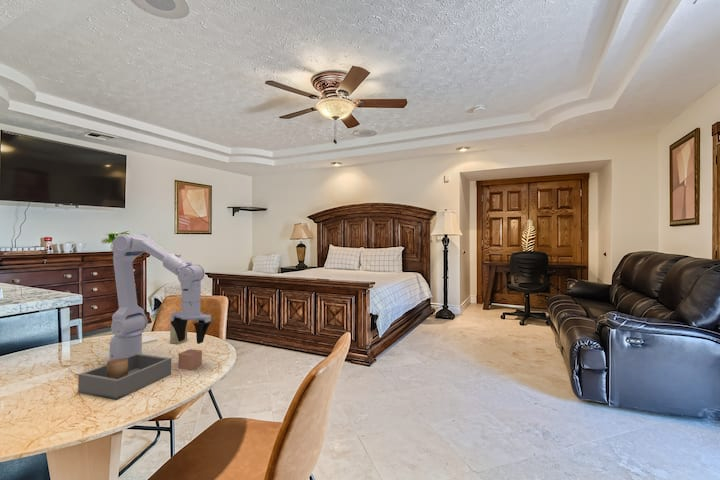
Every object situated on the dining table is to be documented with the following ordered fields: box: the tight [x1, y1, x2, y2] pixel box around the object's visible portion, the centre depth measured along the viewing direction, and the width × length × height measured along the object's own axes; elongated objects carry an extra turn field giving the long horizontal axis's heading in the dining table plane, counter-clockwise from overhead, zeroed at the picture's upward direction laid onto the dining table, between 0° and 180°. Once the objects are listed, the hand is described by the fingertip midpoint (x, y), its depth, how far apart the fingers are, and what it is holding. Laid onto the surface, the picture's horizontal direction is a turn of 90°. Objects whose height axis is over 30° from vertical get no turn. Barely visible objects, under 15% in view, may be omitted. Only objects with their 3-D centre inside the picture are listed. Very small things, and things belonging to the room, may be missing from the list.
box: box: [169, 318, 189, 345], centre depth 141 cm, size 5×4×11 cm
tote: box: [77, 353, 172, 401], centre depth 102 cm, size 14×18×5 cm
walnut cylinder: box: [106, 358, 128, 379], centre depth 99 cm, size 5×5×7 cm
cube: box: [177, 348, 203, 371], centre depth 115 cm, size 5×5×5 cm
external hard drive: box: [142, 335, 158, 346], centre depth 139 cm, size 2×8×12 cm
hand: (190, 341), depth 115 cm, fingers open, 7 cm apart
